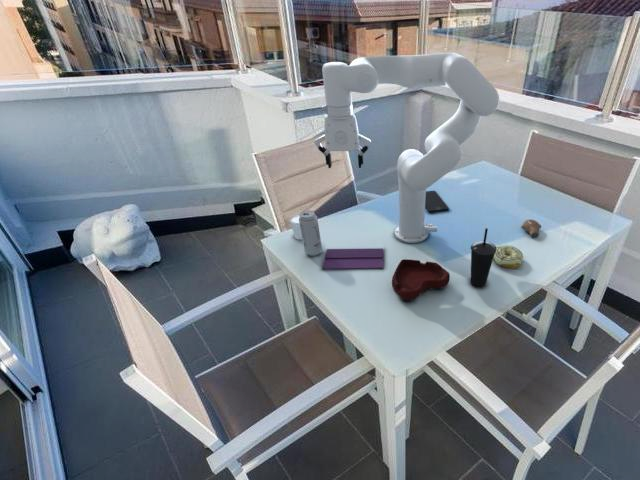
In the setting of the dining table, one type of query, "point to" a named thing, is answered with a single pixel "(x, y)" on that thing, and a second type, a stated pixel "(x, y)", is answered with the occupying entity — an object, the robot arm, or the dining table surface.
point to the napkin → (353, 259)
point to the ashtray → (418, 278)
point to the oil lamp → (531, 227)
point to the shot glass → (296, 227)
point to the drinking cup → (481, 261)
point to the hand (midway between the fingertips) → (345, 166)
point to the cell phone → (434, 202)
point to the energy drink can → (310, 233)
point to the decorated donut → (508, 256)
